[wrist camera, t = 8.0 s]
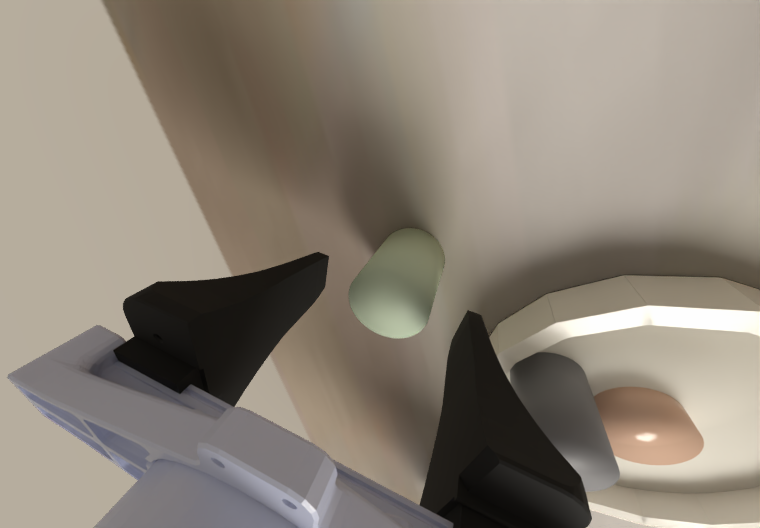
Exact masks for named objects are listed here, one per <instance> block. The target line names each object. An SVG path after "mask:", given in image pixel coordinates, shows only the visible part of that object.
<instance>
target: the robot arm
mask: <svg viewBox="0 0 760 528" xmlns="http://www.w3.org/2000/svg"><path fill="white" fill-rule="evenodd" d="M328 259H329V256H327V255H325V254H322V253H320V252H317V253H313V254H310V255H308V256H305V257H302V258H299V259H297V260H294V261H291V262H288V263H285V264H282V265H279V266H275V267H272V268H269V269H265V270H262V271H258V272H254V273H249V274H244V275H239V276H233V277H226V278H219V279H210V280H198V281H172V282H171V281H167V282H156V283H154V284H152V285H150V286H149V287H147V288H145V289H143V290H141V291H139V292H137V293H136V294H134V295H132V296H130V297H128V298H126V299H125V301H124V303H123V310H124V313H125V316H126V318H127V321H128V323H129V325H130V327H131V330H132V332H133V334H134V337H133V338H131V339H130V340H128V341H127V342H126V341H125V340H124V339H123V338H122V337H121V336H119V335H118V334H116V333H114V332H112V331H110V330H108V329H106V328H104V327H102V326H100V325H96V326H94V327H93V328H91V329H89V330H87V331H85V332H84V333H82V334H80V335H78V336H77V337H75V338H73V339H71V340H70V341H68V342H66V343H64V344H62V345H60V346H59V347H57V348H55V349H53V350H51V351H50V352H48V353H46V354H44V355H42V356H41V357H39V358H37V359H35V360H33V361H32V362H30V363H28V364H26V365H24V366H23V367H21V368H19V369H17V370H16V371H14V372H12V373H10V374H9V375H8V379H9V380H10V381H11V382H12V383H13V384H14V385H15V386H16V387H17V388H18V389H19V390H20V392H21V393H23V395H24V396H26V398H27V399H28V400H29V401H30V402H31V403H32V404H33V405H34V406H35V407H36V408H37V409H38V410H39V411H40V412H41V413H42V414H43V415H44V416H45V417H46V418H48V419H49V420H51V421H52V422H54V423H56V424H57V425H59V426H60V427H62V428H63V429H65V430H66V431H68V432H69V433H71V434H72V435H74V436H75V437H77V438H78V439H80V440H81V441H83V442H84V443H86V444H87V445H89V446H90V447H91V448H93V449H94V450H96V451H97V452H98V453H100V454H101V455H103V456H104V457H106V458H107V459H109V460H110V461H111V462H113V463H114V464H116V465H117V466H118V467H120V468H121V469H122V470H124V471H125V472H127V473H128V474H130V475H131V476H132V477H134V478H135V479H137V480H138V481H137V482H136V483H135V484H134V485H133V486H132V487H131V488H130V490H128V492H127V493H126V494H125V495H124V496H123V497H122V498H121V499H120V500H119V501H118V502H117V503H116V504H115V505H114V506H113V508H112V509H111V510H110V511H109V512H108V513H107V514H106V515H105V516H104V517H103V518H102V519H101V520H100V521H99V522H98V523H97V525H96V526H95V527H94V528H586V527H587V526H588V525H589V524H590V522H591V519H592V517H591V513H590V509H589V504H588V499H587V495H586V491H585V488H584V485H583V481H582V478H581V476H580V475H579V474H578V473H577V471H576V470H575V469H574V468H573V467H572V466H571V465H570V463H569V462H568V461H567V460H566V459H565V458H564V457H563V456H562V454H561V453H560V452H559V451H558V450H557V449H556V447H555V446H554V445H553V444H552V443H551V441H550V440H549V439H548V437H547V436H546V435H545V434H544V432H543V431H542V430H541V429H540V427H539V426H538V425H537V423H536V422H535V420H534V419H533V418H532V416H531V415H530V413H529V412H528V410H527V409H526V408H525V406H524V405H523V403H522V402H521V400H520V399H519V397H518V395H517V394H516V392H515V390H514V389H513V387H512V385H511V384H510V382H509V380H508V378H507V376H506V375H505V373H504V371H503V368H502V366H501V364H500V362H499V360H498V358H497V356H496V353H495V351H494V348H493V346H492V344H491V341H490V338H489V336H488V333H487V330H486V327H485V324H484V322H483V319H482V316H481V315H479V314H477V313H474V312H471V311H469V310H468V311H467V313H466V315H465V317H464V318H463V320H462V322H461V324H460V326H459V328H458V330H457V331H456V333H455V335H454V337H453V339H452V342H451V346H450V350H449V355H448V360H447V369H446V378H445V388H444V397H443V406H442V412H441V417H440V422H439V427H438V431H437V436H436V440H435V445H434V449H433V454H432V458H431V462H430V466H429V470H428V474H427V479H426V483H425V487H424V490H423V494H422V498H421V502H420V505H418V504H416V503H414V502H412V501H410V500H408V499H407V498H405V497H403V496H401V495H399V494H397V493H395V492H393V491H391V490H390V489H388V488H386V487H384V486H382V485H380V484H378V483H376V482H374V481H373V480H371V479H369V478H367V477H365V476H363V475H361V474H359V473H357V472H356V471H354V470H352V469H350V468H348V467H346V466H344V465H342V464H341V463H339V462H337V461H335V460H333V459H331V457H330V456H329V455H328V454H327V453H326V452H325V451H323V450H322V449H320V448H319V447H318V446H316V445H315V444H313V443H311V442H309V441H307V440H305V439H304V438H302V437H300V436H298V435H296V434H294V433H292V432H290V431H288V430H287V429H284V428H283V427H281V426H279V425H277V424H275V423H273V422H271V421H269V420H268V419H266V418H264V417H262V416H260V415H258V414H256V413H254V412H252V411H250V410H247V409H245V408H241V407H234V406H235V405H236V403H237V402H238V400H239V399H240V397H241V395H242V394H243V392H244V391H245V389H246V388H247V386H248V385H249V383H250V382H251V380H252V379H253V377H254V376H255V374H256V373H257V371H258V370H259V368H260V367H261V365H262V364H263V363H264V361H265V360H266V358H267V357H268V356H269V354H270V353H271V352H272V350H273V349H274V348H275V346H276V345H277V344H278V342H279V341H280V340H281V338H282V337H283V336H284V335H285V334H286V333H287V331H288V330H289V329H290V328H291V327H292V326H293V325H294V324H295V323H296V322H297V321H298V320H299V319H300V317H301V316H302V315H303V314H304V313H305V312H306V311H307V310H308V309H309V308H310V307H311V306H312V304H313V303H314V302H315V301H316V299H317V298H318V297H319V295H320V294H321V292H322V291H323V289H324V288H325V283H326V275H327V267H328Z"/></svg>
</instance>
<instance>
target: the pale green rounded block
mask: <svg viewBox="0 0 760 528" xmlns="http://www.w3.org/2000/svg"><path fill="white" fill-rule="evenodd" d="M444 264H445V256H444V252H443V249H442V247H441V245H440V244H439V242H438V241H437V240H436V239H435V238H434V237H433V236H432V235H430V234H429V233H427V232H425V231H423V230H420V229H416V228H404V229H400V230H397V231H395V232H393V233H392V234H391V235H390V236H389V237H388V238H387V239H386V240H385V241H384V243H383V244H382V245H381V246H380V248H379V249H378V250H377V251H376V253H375V254H374V255H373V256H372V258H371V259H370V260H369V261H368V263H367V264H366V265H365V266H364V268H363V269H362V270H361V271H360V273H359V274H358V275H357V276H356V278H355V279H354V280H353V282H352V284H351V286H350V289H349V302H350V306H351V308H352V311H353V312H354V314H355V316H356V317H357V318H358V319H359V321H360V322H361V323H362V324H363V325H365V326H366V327H367V328H369V329H370V330H372V331H373V332H375V333H377V334H380V335H382V336H385V337H390V338H408V337H411V336H414V335H416V334H417V333H419V332H420V331H421V330H422V329H423V328H424V327H425V326H426V324H427V322H428V319H429V315H430V312H431V308H432V305H433V302H434V298H435V295H436V292H437V288H438V285H439V282H440V278H441V275H442V271H443V268H444Z"/></svg>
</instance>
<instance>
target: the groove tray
mask: <svg viewBox="0 0 760 528" xmlns="http://www.w3.org/2000/svg"><path fill="white" fill-rule="evenodd" d="M489 338H490V341H491V344H492V346H493V348H494V351H495V353H496V356H497V358H498V360H499V362H500V364H501V366H502V368H503V371H504V373H505V375H506V376H507V378H508V380H509V382H510V369H511V368H512V367H513V366H514V364H515V363H517V362H519V361H521V360H523V359H525V358H527V357H529V356H531V355H533V354H535V353H537V352H549V353H556V354H560V355H563V356H566V357H568V358H570V359H572V360H573V361H575V362H576V363H578V364H579V365H580V366H581V367H582V369H583V370H584V372H585V374H586V377H587V380H588V383H589V385H590V388H591V391H592V394H593V397H594V399H595V402H596V405H597V408H598V411H599V414H600V416H601V419H602V422H603V425H604V428H605V431H606V433H607V436H608V439H609V442H610V445H611V447H612V450H613V453H614V456H615V459H616V462H617V464H618V467H619V471H620V477H619V480H618V481H617V482H616V483H615V484H614V485H613V486H611V487H609V488H607V489H604V490H600V491H592V492H586V495H587V499H588V504H589V509H590V510H592V511H595V512H599V513H602V514H606V515H609V516H613V517H616V518H620V519H623V520H627V521H630V522H634V523H637V524H641V525H644V526H652V527H660V528H760V290H759V289H756V288H752V287H749V286H746V285H743V284H740V283H737V282H734V281H730V280H727V279H724V278H718V277H677V276H635V275H623V276H619V277H615V278H610V279H606V280H602V281H598V282H594V283H590V284H586V285H581V286H577V287H573V288H569V289H565V290H561V291H557V292H553V293H548V294H546V295H544V296H543V297H541V298H539V299H538V300H536V301H534V302H533V303H531V304H530V305H528V306H526V307H525V308H523V309H521V310H520V311H518V312H517V313H515V314H513V315H512V316H510V317H508V318H507V319H505V320H504V321H502V322H500V323H499V324H498V325H497V326H496V328H495V329H494V331H493V332H492V334H491V336H490V337H489ZM510 384H511V383H510Z"/></svg>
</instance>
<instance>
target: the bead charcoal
mask: <svg viewBox="0 0 760 528" xmlns="http://www.w3.org/2000/svg"><path fill="white" fill-rule="evenodd" d="M510 383H511V385H512V387H513V389H514V390H515V392H516V394H517V395H518V397H519V399H520V400H521V402H522V403H523V405H524V406H525V408H526V409H527V410H528V412H529V413H530V415H531V416H532V418H533V419H534V420H535V422H536V423H537V425H538V426H539V427H540V429H541V430H542V431H543V432H544V434H545V435H546V436H547V437H548V439H549V440H550V441H551V443H552V444H553V445H554V446H555V447H556V449H557V450H558V451H559V452H560V453H561V454H562V456H563V457H564V458H565V459H566V460H567V461H568V462H569V463H570V465H571V466H572V467H573V468H574V469H575V470H576V471H577V473H578V474H579V475H580V476H581V478H582V481H583V485H584V488H585V491H586V492H592V491H600V490H604V489H607V488H609V487H611V486H613V485H614V484H615V483H616V482H617V481H618V480H619V477H620V471H619V467H618V464H617V462H616V459H615V456H614V453H613V450H612V447H611V445H610V442H609V439H608V436H607V433H606V431H605V428H604V425H603V422H602V419H601V416H600V414H599V411H598V408H597V405H596V402H595V399H594V397H593V394H592V391H591V388H590V385H589V383H588V380H587V377H586V374H585V372H584V370H583V369H582V367H581V366H580V365H579V364H578V363H576V362H575V361H573V360H572V359H570V358H568V357H566V356H563V355H560V354H556V353H549V352H537V353H535V354H533V355H531V356H529V357H527V358H525V359H523V360H521V361H519V362H517V363H515V364H514V366H513V367H512V368H511V369H510Z"/></svg>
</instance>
